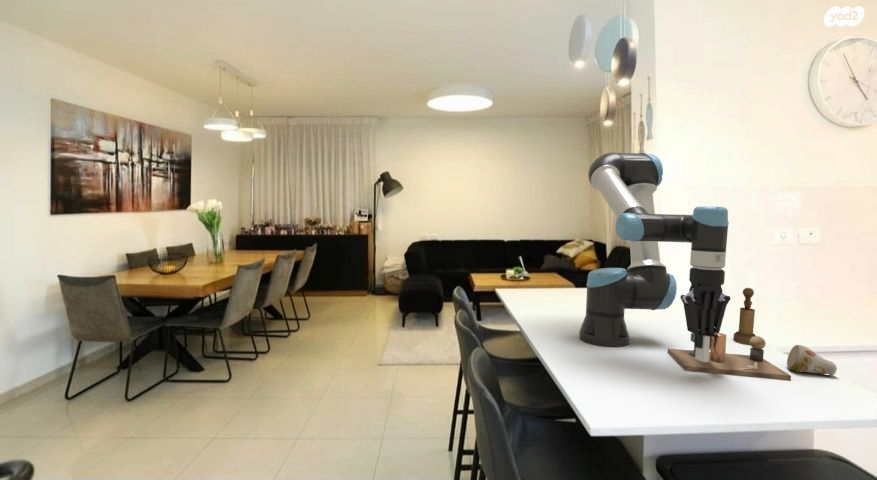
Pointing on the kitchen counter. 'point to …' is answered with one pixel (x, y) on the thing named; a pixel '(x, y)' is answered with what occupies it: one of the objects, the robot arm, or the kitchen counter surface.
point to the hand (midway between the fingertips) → (701, 360)
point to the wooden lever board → (733, 362)
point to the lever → (716, 347)
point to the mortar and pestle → (746, 319)
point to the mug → (809, 361)
